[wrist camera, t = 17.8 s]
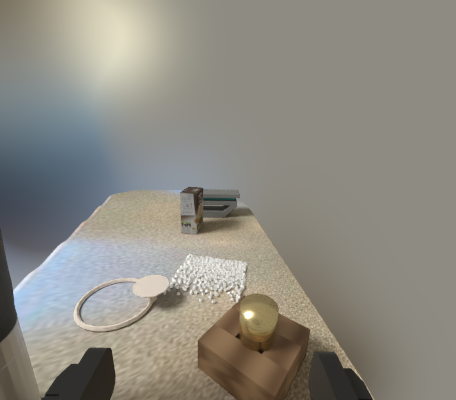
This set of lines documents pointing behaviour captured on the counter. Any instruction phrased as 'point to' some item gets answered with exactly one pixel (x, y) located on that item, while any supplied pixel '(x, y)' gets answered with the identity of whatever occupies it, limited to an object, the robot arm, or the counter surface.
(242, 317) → the brass pin
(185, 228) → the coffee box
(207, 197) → the grey slotted bar
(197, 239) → the counter surface
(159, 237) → the counter surface
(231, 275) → the salt crystals
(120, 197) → the counter surface
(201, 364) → the walnut block
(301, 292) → the counter surface
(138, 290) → the hand towel holder
